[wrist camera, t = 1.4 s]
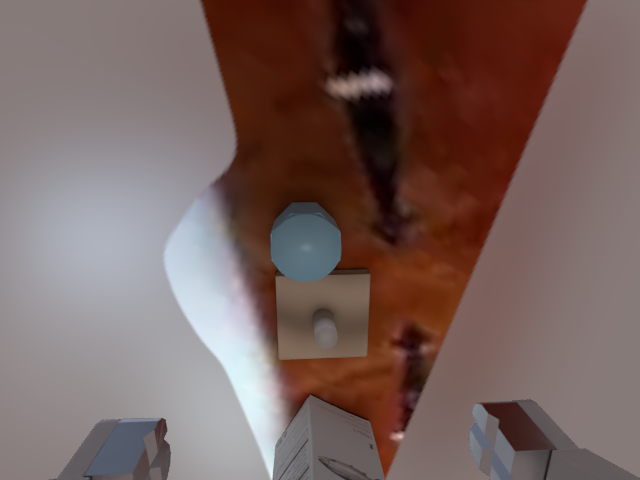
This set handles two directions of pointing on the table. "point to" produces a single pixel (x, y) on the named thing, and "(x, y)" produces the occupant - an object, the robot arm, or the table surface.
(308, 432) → the supplement box
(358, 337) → the post base
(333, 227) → the teal cap
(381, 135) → the table surface
